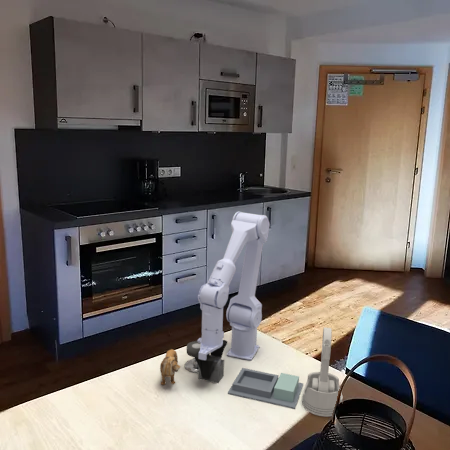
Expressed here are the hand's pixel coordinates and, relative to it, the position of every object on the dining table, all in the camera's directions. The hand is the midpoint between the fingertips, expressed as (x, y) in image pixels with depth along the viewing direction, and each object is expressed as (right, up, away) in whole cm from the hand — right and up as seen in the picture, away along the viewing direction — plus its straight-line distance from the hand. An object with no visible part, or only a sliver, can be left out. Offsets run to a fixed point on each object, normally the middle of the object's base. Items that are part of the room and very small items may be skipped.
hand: (211, 371), depth 131 cm
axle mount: (-4, 0, +6) cm, 7 cm away
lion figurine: (-11, -2, 0) cm, 11 cm away
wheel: (-4, +4, +5) cm, 8 cm away
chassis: (+15, -3, -5) cm, 16 cm away
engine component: (+29, -5, -10) cm, 31 cm away
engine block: (0, -2, 0) cm, 2 cm away
